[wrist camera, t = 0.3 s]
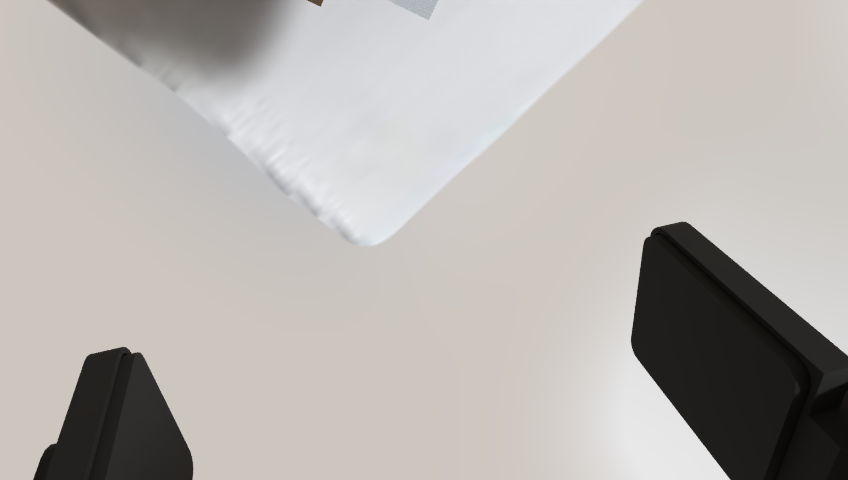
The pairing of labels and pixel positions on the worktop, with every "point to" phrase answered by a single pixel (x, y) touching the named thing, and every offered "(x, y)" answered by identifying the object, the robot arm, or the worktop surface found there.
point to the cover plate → (418, 6)
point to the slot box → (316, 2)
